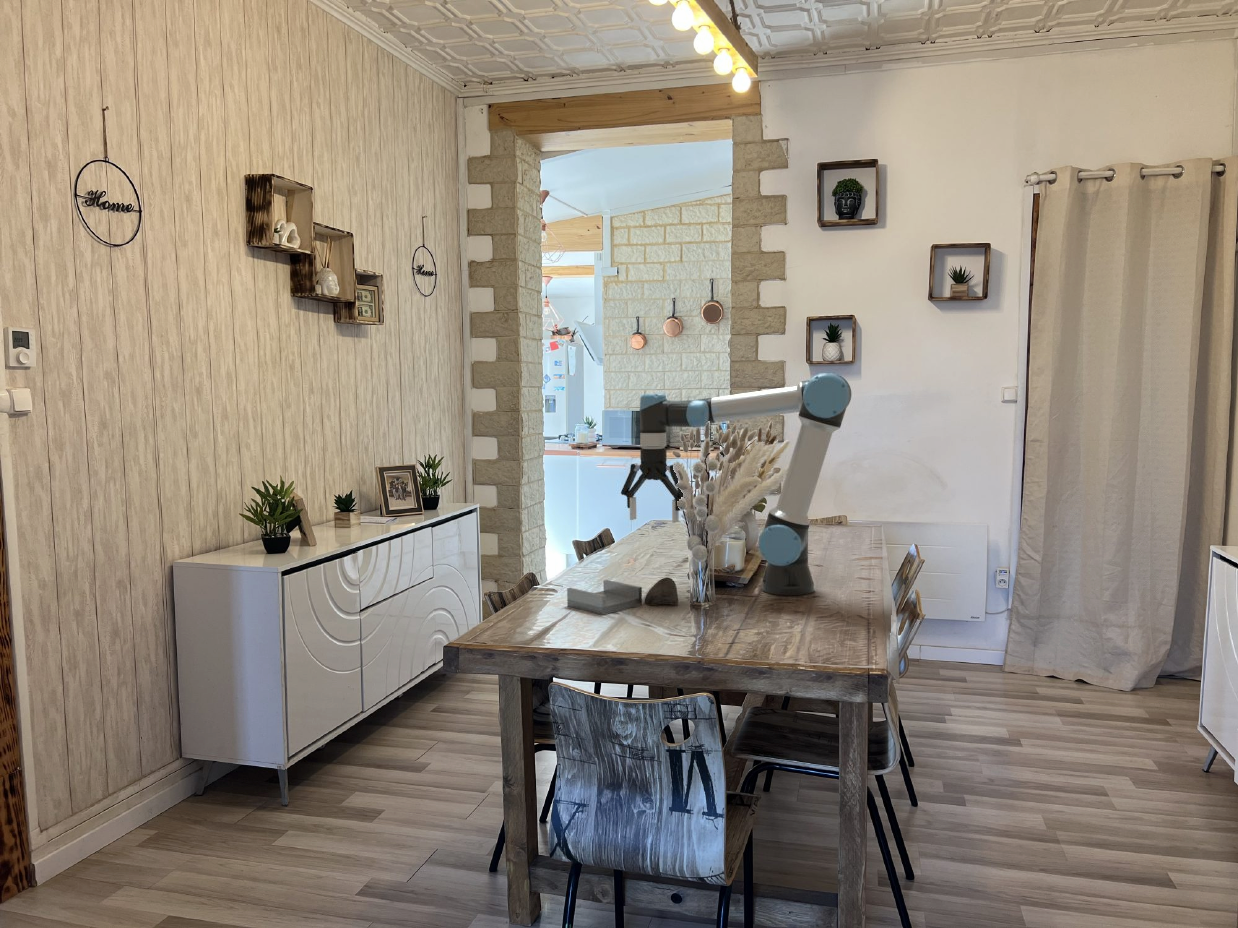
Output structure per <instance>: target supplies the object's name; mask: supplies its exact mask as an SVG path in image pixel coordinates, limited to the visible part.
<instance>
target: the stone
mask: <svg viewBox="0 0 1238 928" xmlns="http://www.w3.org/2000/svg"><path fill="white" fill-rule="evenodd" d="M644 605H646V606H655V605H672V606H677V607H678V605H679V597H678V588H677V584H676V582H675V580H674V579H672V578H670V577H663V578H661V579H660V580H658V581H657V582H656V583H654V585H652V587H650V589H649V590H648V592H647V593H646V595H645V598H644Z"/></svg>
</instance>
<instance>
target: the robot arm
mask: <svg viewBox="0 0 1238 928" xmlns="http://www.w3.org/2000/svg"><path fill="white" fill-rule="evenodd" d="M639 399H640V402H639V422H640V424H639V426H640V427H639V428H640V435H639V438H640V439H639V441H640V443H639V444H640V445H639V446H640V447H642V448H640V451H639V452H640V455H639V456H640V464H638V463H632V464H630V470H629V473H628V476H627V478H626V480H625V483H624V484H623V487H622V489H621V490H620V491H621V492H620V494H621V495H622V496H625V497H626V498H627V499H626V504H627V505H626V507H627V508H628V509H629V520H630V521H634V520H637V496H635V494H636V493H637V492H638V490H640V488H641V487H642V485H643V484H644V483H645V481H651V480H653V481H660V482H661V483H662V484H663V485H664V486H665V488H666V489H667V490H668V492H670V494H671V496H672V497H673V499H672V501H671V508H672V509H671V510H672V511H671V512H672V513H671V518H672V524H674V523H678V522H680V520H679V519H680V518H679V516H680V515H679V512H680V511H681V510H680V509H679V508H678V506H677V501H679V499H681V497H683V493H682V492H681V490H680V489H679V488H677V487H676V484H677V483H678V478H677V476H676V473H675V472H674V470H673V465H674V464H670V465H667V460H668V459H667V449H666V448H665V447H666V446H667V428H673V427H674V428H703V427H706V426H707V425H709V423H708V424H707V425H706V423H707V422H708V421H710V424H714V423H722V422H732V421H740V420H746V419H755V418H761V417H762V418H763V417H769V416H778V415H785V414H795V413H798V416H797V417H798V419H799V420H800V423H801V425H800V428H799V432H798V435H797V438H796V441H795V444H794V449H793V451H792V455H791V458H790V461H789V464H788V468H787V471H786V473H785V477H784V481H783V484H782V488H781V491H780V494H779V497H778V500H777V504H776V506H775V507H773V508H771V509H769V511H768V515H767V518H766V520H765V521H766V522H765V524H764V527H763V529H762V530H763V531H761V533H760V534H759V537H758V543H757V544H758V550H759V553H760V555H761V556H762V558H763V559H764V560H766V561H767V564H766V567H765V571H764V574H763V578H762V579H761V590H762V591H763V592H765V593H767V594H773V595H779V596H802V595H803V596H804V595H809V594H812V593H813V592H814V591H815V582H814V579H813V576H812V572H811V570H810V569H811V568H810V567H809V528H810V524H811V521H810V519H809V516H808V512H809V510H810V506H811V504H812V500H813V496H814V493H815V491H816V487H817V484H818V480H819V478H820V475H821V472H822V468H823V466H824V462H825V458H826V455H827V451H828V448H829V445H830V443H831V439H832V436H833V433H834V432H835V431H837V430H839V429H841V425H842V423H843V419H844V416H845V415H846V414H845V413H846V410H847V408H848V406H849V404H850V403H851V400H852V389H851V386H850V383H849V382H848V381H847V380H846V379H845V377H842V375H839V374H835V372H834V373H833V372H832V373H831V372H822V373H818V374H816V375H814V376H813V377H812V378H810V379H809V380H808V379H807V380H802V381H800V382H799V383H798V384H797V385H792V386H786V387H785V386H784V387H779V388H778V387H777V388H771V389H764V390H757V391H750V392H749V391H748V392H742V393H737V394H736V393H735V394H729V395H722V396H714V397H706V398H698V399H693V400H692V399H690V400H688V399H687V400H667V395H666V394H665V393H645V394H642V395H641V396H640V398H639ZM639 471H640V472H641V474H640V475H639V477H638V479H637V480H636V482H635V483H634V481H635V478H636V476H637V474H638V472H639ZM666 472H669V474H670V476H671V479H672V480H673V482H672V481H671V479H670V478H669V476H668V475H667V473H666ZM633 483H634V484H633ZM632 484H633V485H632ZM674 484H675V485H674Z"/></svg>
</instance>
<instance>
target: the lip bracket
mask: <svg viewBox="0 0 1238 928" xmlns="http://www.w3.org/2000/svg"><path fill="white" fill-rule="evenodd" d="M642 589H643V588H642V586H638V585H633V584H629V583H625V582H619V581H615V580H609V579H604V580H603V590H601V591H596V592H592V591H588V590H582V589H577V588H573V587H568V588H566V592H567V593H566V594H567V595H566V596H567V597H566V598H567V599H566V602H567V607H569V608H573V609H576V610H581V611H585V612H588V613H589V612H590V613H593V614H596V615H597V614H598V615H601V616H604V615H607V614H612V613H615V612H620V611H623V610H627V609H630V608H635V607H639V606H642V605H643V595H642V593H643V591H642Z"/></svg>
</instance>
